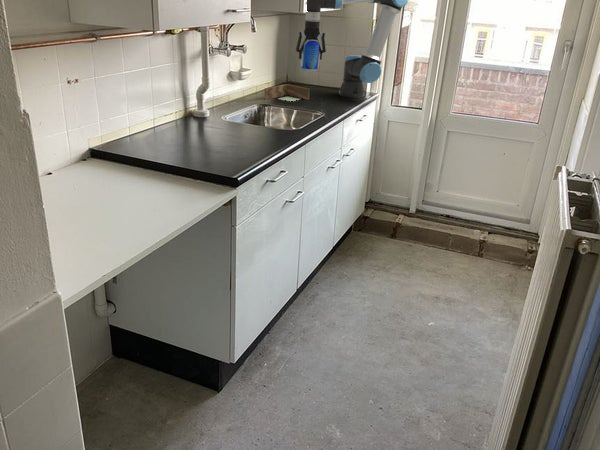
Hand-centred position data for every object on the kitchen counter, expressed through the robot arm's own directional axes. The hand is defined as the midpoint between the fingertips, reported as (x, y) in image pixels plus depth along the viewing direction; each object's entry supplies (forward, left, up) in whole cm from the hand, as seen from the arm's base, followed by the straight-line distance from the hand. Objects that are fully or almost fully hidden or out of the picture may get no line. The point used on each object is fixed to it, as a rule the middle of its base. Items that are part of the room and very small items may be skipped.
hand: (309, 65), depth 284 cm
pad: (+1, -12, -20) cm, 23 cm away
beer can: (0, 0, -3) cm, 3 cm away
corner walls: (+2, -12, -20) cm, 23 cm away
